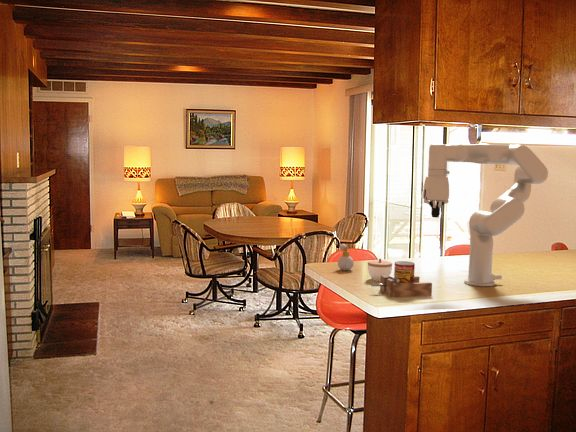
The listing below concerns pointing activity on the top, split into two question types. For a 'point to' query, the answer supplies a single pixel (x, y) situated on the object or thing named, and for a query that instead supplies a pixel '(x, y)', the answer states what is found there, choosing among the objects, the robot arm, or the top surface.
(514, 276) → the top surface
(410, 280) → the canned food
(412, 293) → the brown wooden frame
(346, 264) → the perfume bottle
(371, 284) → the pusher
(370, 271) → the lidded jar
